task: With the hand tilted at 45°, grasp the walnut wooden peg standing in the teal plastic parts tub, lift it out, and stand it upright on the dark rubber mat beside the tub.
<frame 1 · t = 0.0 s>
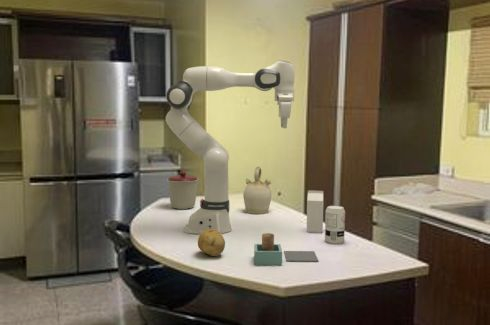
hand: (283, 127, 222), 48 cm above the kitchen island, tool pointing down, fingers open, 8 cm apart
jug: (257, 212, 267), on the kitchen island
supplement can: (334, 242, 209), on the kitchen island
walnut peg: (267, 247, 182), in the tub
milk carton: (314, 231, 227), on the kitchen island
canister: (183, 208, 276), on the kitchen island
potato: (210, 255, 189), on the kitchen island
tub: (267, 260, 182), on the kitchen island
mat: (300, 256, 187), on the kitchen island
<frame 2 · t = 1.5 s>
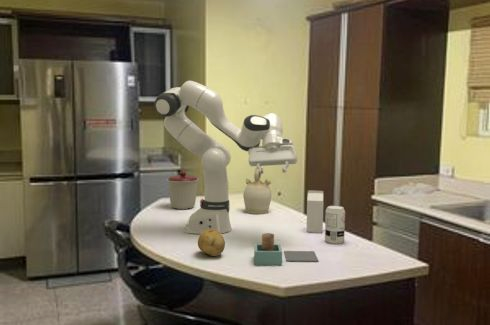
hand: (272, 172, 199), 31 cm above the kitchen island, tool tilted 45°, fingers open, 8 cm apart
nothing on the kitchen island moved.
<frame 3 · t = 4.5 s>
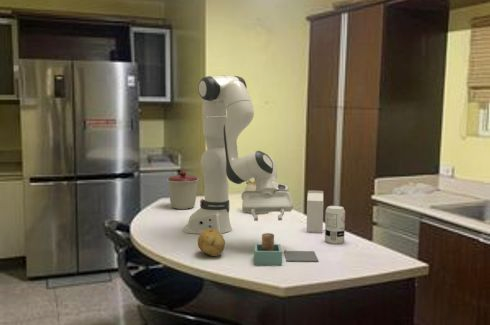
hand: (268, 219, 190), 14 cm above the kitchen island, tool tilted 45°, fingers open, 8 cm apart
nothing on the kitchen island moved.
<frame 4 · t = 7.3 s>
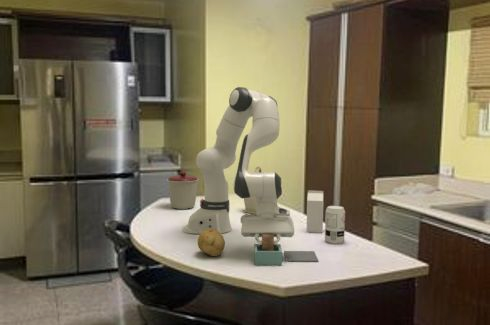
hand: (268, 245, 181), 6 cm above the kitchen island, tool tilted 45°, fingers closed on walnut peg, 4 cm apart
walnut peg: (267, 247, 182), in the tub, touching gripper
everything else where it was.
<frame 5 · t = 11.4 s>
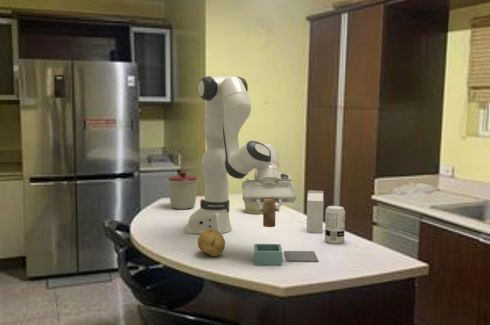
hand: (269, 210, 180), 19 cm above the kitchen island, tool tilted 45°, fingers closed on walnut peg, 4 cm apart
walnut peg: (269, 212, 180), point 18 cm above the kitchen island, touching gripper
everything else where it was.
when the fingers open (8 cm above the kitchen island, at t = 15.8 s): walnut peg drops 1 cm, resting on mat.
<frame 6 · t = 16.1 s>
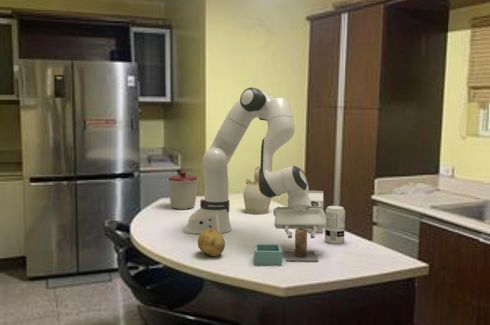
hand: (301, 237, 186), 8 cm above the kitchen island, tool tilted 45°, fingers open, 7 cm apart
walnut peg: (300, 242, 187), on the mat
everything else where it was.
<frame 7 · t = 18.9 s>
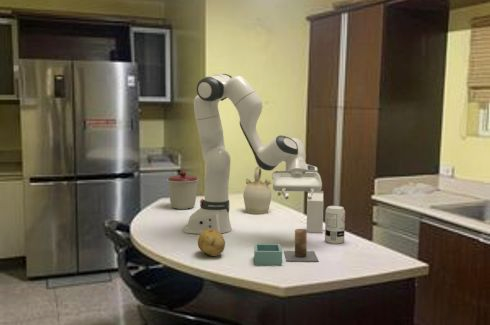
hand: (298, 198, 197), 21 cm above the kitchen island, tool tilted 45°, fingers open, 8 cm apart
nothing on the kitchen island moved.
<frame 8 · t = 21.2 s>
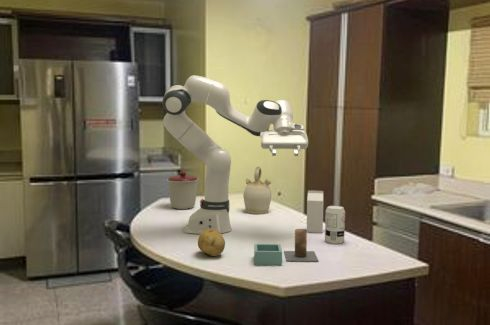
hand: (285, 155, 204), 37 cm above the kitchen island, tool tilted 45°, fingers open, 8 cm apart
nothing on the kitchen island moved.
at the end: walnut peg inside the target area (0.1 cm from its centre), point 5.5 cm above the kitchen island; walnut peg tilted 1°; the gripper is holding nothing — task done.
